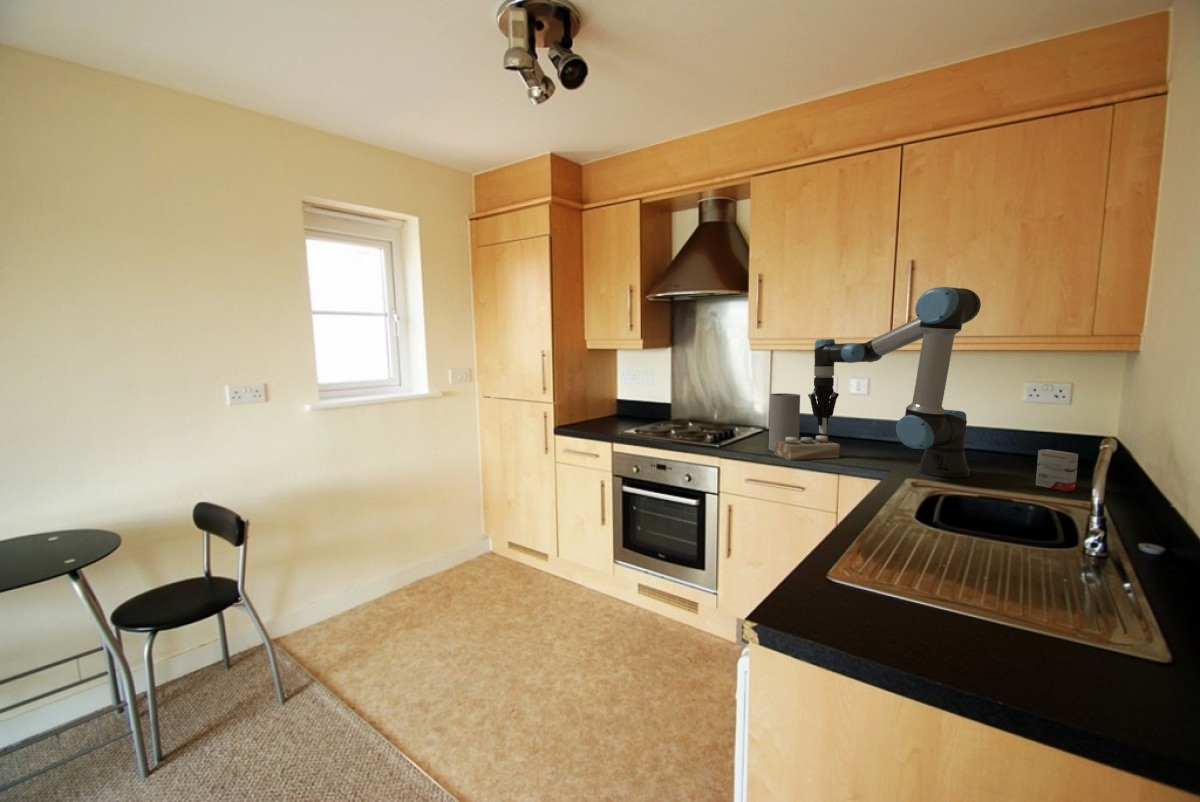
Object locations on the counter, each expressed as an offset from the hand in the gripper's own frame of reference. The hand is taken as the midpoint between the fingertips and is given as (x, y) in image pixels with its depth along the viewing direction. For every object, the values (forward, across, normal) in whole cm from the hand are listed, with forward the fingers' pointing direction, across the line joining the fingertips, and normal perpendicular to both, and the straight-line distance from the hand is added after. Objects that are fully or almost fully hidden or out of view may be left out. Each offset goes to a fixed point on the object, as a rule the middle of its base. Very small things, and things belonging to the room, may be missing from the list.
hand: (822, 433), depth 211 cm
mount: (+10, +7, 0) cm, 12 cm away
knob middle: (+9, +7, 0) cm, 12 cm away
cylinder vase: (+10, +9, -14) cm, 20 cm away
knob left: (+9, +14, 0) cm, 17 cm away
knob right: (+9, 0, 0) cm, 9 cm away
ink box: (+11, -42, +60) cm, 74 cm away
